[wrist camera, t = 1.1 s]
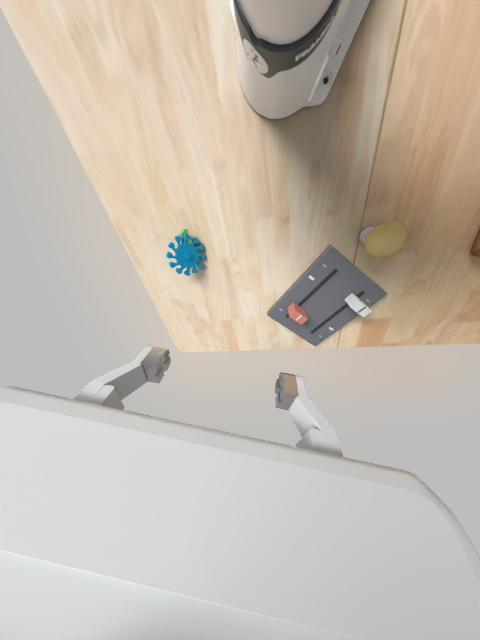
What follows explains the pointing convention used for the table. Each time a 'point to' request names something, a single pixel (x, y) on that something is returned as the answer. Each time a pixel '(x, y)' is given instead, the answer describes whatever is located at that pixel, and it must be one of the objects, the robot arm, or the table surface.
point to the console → (325, 296)
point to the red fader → (297, 313)
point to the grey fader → (357, 305)
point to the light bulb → (383, 239)
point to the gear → (185, 253)
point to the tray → (476, 247)
